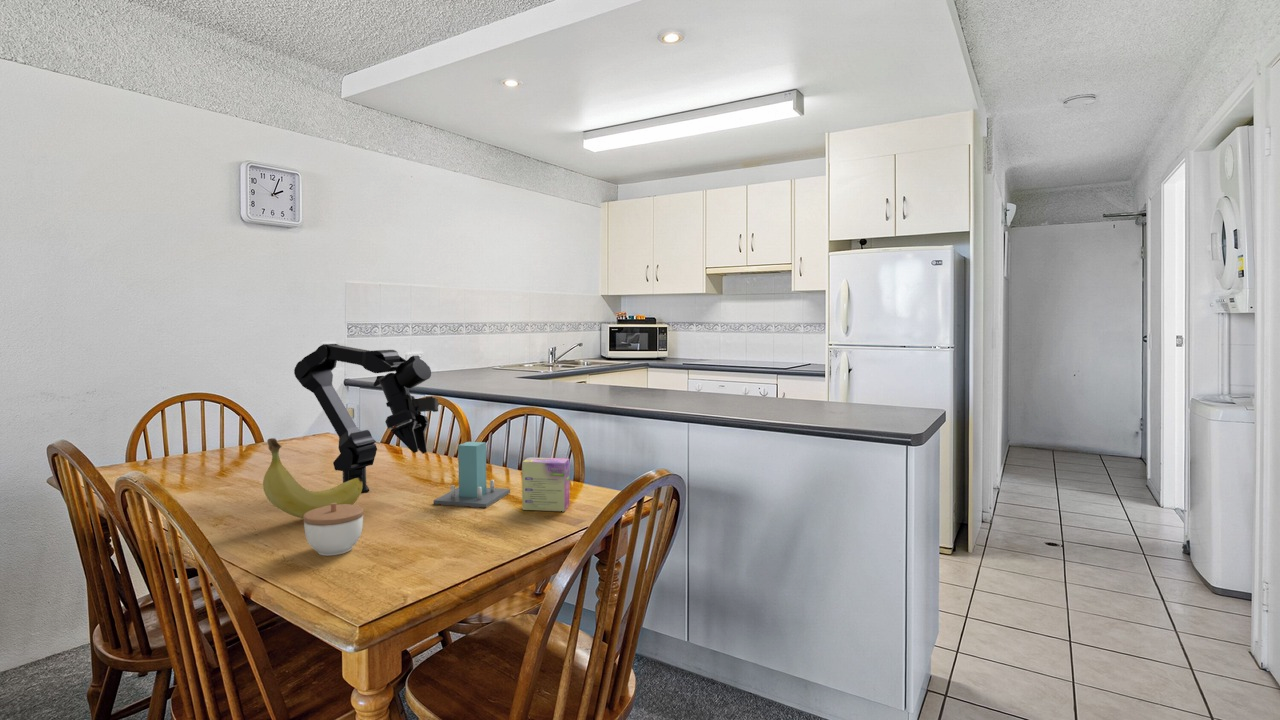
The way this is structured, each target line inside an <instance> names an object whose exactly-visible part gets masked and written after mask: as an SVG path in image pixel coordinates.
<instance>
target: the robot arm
mask: <svg viewBox="0 0 1280 720" xmlns="http://www.w3.org/2000/svg"><path fill="white" fill-rule="evenodd" d="M337 362H342V363H348V364H351V365H352V364H353V365H357V366H361V367H363V368H364V370H366V371H368V372H370V373H374V374H382V373H386V374H385V375H377V376H376V379H375V381H374V383H373V385H372V386H373V387H374V388H375V387H381V389H382V391H383V394H384V397H385V399H386V403H385V404H386V407H387V408H389V410H390V412H391V415H388V416H387V417H386V419H385V425H386V427H387V430H388V429H389V430H390V432H391V433H393V435H394V436H395V437H396V438H398V439H399V440H400V441H401V442H402V443H403V444H404V445H405V446H406V447H407V449H409V450H410V451H411V452H412V454H413V453H414V454H416V453H418V451H420V453H421V454H426V453H427V452H428V451H427V442H426V434H425V433H426V431H427V429H428V427H429V426H430V425H429V424H430V421H429V419H428V417H427V416H426V415H423V414H422V413H423V412H425V413H426V412H434V413H435V412H439V406H440V403H439V399H438V398H436V397H434V396H432V395H431V396H426V397H423V398H415V396H413V395H411V393H410V390H409V389H413V388H415V387H417V386H419V385H420V384H422V383H424V382H426V381H428V380H429V379H430V378H431V376H432V370H431V367H430V366H429V365H428V364H427V363H426V361H424V360H422V359H421V357H420V355H412V356H410V357H409V358H408V359H407V360H406V359H404V358H403V357H402V356H400V355H399V352H398V351H397V350H395V349H380V350H367V349H362V348H358V347H356V348H355V347H351V346H345V345H339V344H338V343H324V344H321V345H319V346H318V348H316V350H314V351H312V352H311V353H309V354H307V355H306V356H304V357H303V358H302V359H301V360H299V361H298V362H297V363H296V365H295V367H294V369H293V373H294V377H295V378H296V380H297V381H298V382H299V383H300V385H301V386H302V388H305V389H306V390H308V391H309V392H311V393H313V394H314V396H315V398H316V400H317V401H318V403H319V405H320V406H321V408H322V410H323V412H324V414H325V415H326V417H327V419H328V420H329V423H330V424H331V426H332V427H333V429H334V431H335V432H336V434H337V436H338V450H339V453H340V454H339V455H338V456H337V457H336V458H335V459H334V460H333V463H332V464H333V467H334V470H335V471H338V472H342V483H344V482H347V481H349V480H352V479H354V478H360V479H361V480H362V482H363V486H362V492H361V493H367V492H370V488H369V486H368V485H367V467H369V466H373V465H374V461H375V458H376V455H377V451H378V447H377V444H376V443H377V441H376V440H375V439H374V438H373V436H372V434H371V432H370V430H369V429H364V430H361V429H360V428H359V427H357V425H356V423H355V421H354V419H352V416H351V415H350V413H349V412H348V410H347V409H348V408H347V407H346V406H345V404H344V402H343V400H342V399H341V397H340V396H339V394H338V392H337V391H336V389H335V387H334V385H333V378H334V374H333V370H334V368H335V367H336V366H337ZM394 427H395V428H394Z"/></svg>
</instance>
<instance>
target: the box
mask: <svg viewBox="0 0 1280 720" xmlns="http://www.w3.org/2000/svg"><path fill="white" fill-rule="evenodd" d="M521 464H522V466H521V467H522V469H521V470H522V472H521V474H522V477H521V483H522V484H521V486H522V487H521V488H522V489H521V493H522V494H521V497H522V499H521V500H522V501H521V502H522V504H521V505H522V510H523V511H544V512H545V511H547V512H561V511H562V513H563V512H564V513H565V512H566V510H567V509H568V508H569V507H570V476H571V474H570V466H571V465H570V458H565V457H564V458H563V457H562V458H561V457H560V458H559V457H534V456H533V457H532V456H531V457H530V456H529V457H526V459H524V460H523V461H522V463H521Z"/></svg>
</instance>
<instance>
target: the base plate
mask: <svg viewBox="0 0 1280 720" xmlns="http://www.w3.org/2000/svg"><path fill="white" fill-rule="evenodd" d="M489 483H490V484H489V485H490V487H487V493H485V494H483V495H482V489H481V487H477V498H473V497H459V486H458V487H456V485H455V484H451V485H450V491H449V492H447V493H445V494H443V495H441V496H439V497H437V498H435V499H434V500H433V502H432V503H433V505H436V504H441V505H440V506H450V505H456V506H455V507H464V506H471V507H470V508H479V507H487V506H489V505H490V506H492V505H493V504H495V503H496V502H495V501H497V500H498V501H500V500H501V499H503V498H505V497H506V496H508V495H509V494H511V489H510V488H497V487H495V479H490V480H489ZM508 493H509V494H508ZM507 494H508V495H507ZM505 495H506V496H505ZM502 497H503V498H502ZM500 498H501V499H500ZM499 499H500V500H499ZM498 501H497V502H498ZM494 502H495V503H494ZM492 503H493V504H492ZM491 504H492V505H491ZM490 506H489V507H490ZM487 508H488V507H487Z"/></svg>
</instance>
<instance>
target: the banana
mask: <svg viewBox="0 0 1280 720" xmlns="http://www.w3.org/2000/svg"><path fill="white" fill-rule="evenodd" d="M266 442H267V445H268V450H269V451H270V453H271V457H272V458H271V463H270V464H269V467H268V469H267V470H266V472H265V474H264V477H263V482H262V487H263V492H264V494H265V496H266V498H267V500H268V501H269V502H270V504H272V505H273V506H274V507H275V508H277V509H279V510H281V511H282V512H283V513H286V514H287V515H290V516H292V517H295V518H299V519H303V516H304V514H305V513H306V512H308V511H310V510H313V509H316V508H320V507H324V506H330V505H331V503H337V505H340V504H351V505H355V503H357V501H358V499H359V498H360V496H361V493H363V492H362V486H363V482H362V480H361V479H360V478H354V479H352V480H349V481H347V482H344V483H343V482H342V483H340V484H338V485H337V486H334V487H332V488H330V489H329V488H328V489H325V490H319V491H313V490H312V491H311V490H309V489H307V488H305V487H303V486H302V485H301V484H299V482H298V481H297V480H296V479H295V477H293V475H292V474H291V473H290V471H289V470H288V469H287V468H286V466H284V465H283V463H282V461H281V458H280V449H281V448H282V445H281V444H279V443H278V441H277V439H276V438H275V437H274V438H273V437H272V438H268V439H267V441H266Z"/></svg>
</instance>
